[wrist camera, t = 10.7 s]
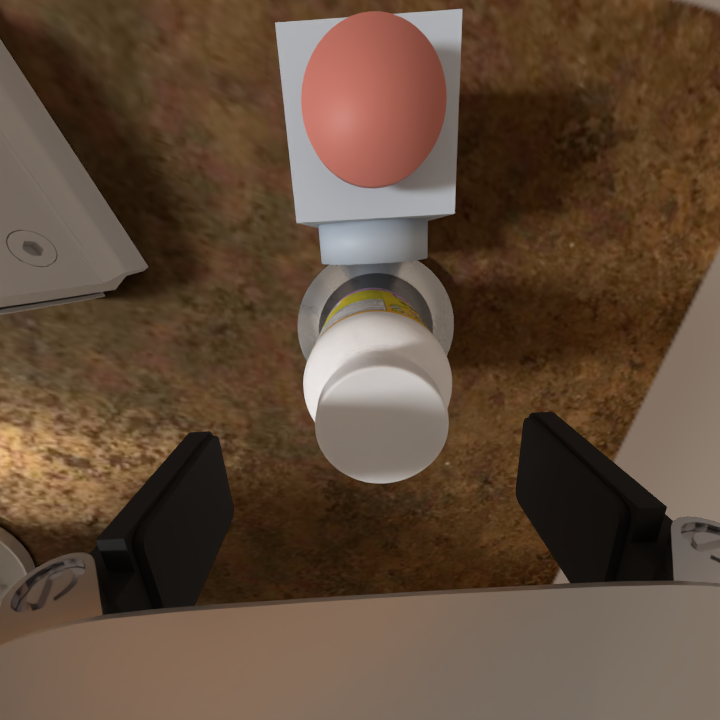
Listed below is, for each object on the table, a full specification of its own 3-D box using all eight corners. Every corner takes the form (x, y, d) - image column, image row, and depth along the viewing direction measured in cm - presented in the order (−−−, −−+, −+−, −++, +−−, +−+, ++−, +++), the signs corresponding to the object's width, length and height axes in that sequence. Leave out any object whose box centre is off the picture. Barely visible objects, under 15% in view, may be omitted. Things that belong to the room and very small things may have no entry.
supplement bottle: (429, 362, 25) (494, 484, 12) (342, 387, 25) (323, 525, 13) (405, 271, 22) (456, 311, 10) (311, 301, 23) (254, 372, 11)
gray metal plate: (447, 392, 27) (451, 399, 25) (308, 398, 27) (305, 405, 26) (453, 244, 23) (458, 244, 22) (291, 253, 23) (288, 254, 22)
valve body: (423, 253, 23) (467, 264, 13) (321, 259, 23) (291, 274, 14) (425, 95, 20) (483, -39, 10) (307, 102, 20) (257, -22, 11)
